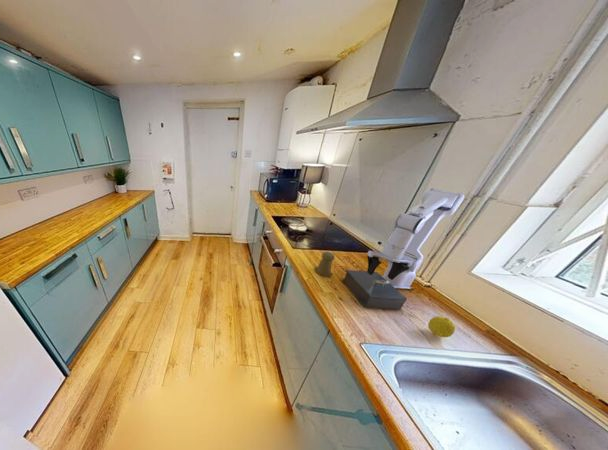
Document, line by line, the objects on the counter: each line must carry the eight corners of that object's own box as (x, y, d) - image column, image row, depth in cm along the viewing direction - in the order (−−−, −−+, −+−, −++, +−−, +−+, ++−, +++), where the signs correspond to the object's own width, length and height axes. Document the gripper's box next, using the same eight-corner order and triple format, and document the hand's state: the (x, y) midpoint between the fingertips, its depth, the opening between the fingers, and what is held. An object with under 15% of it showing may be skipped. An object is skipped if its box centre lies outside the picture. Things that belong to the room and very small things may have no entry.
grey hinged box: (343, 281, 92) (346, 272, 89) (372, 283, 91) (377, 274, 89) (365, 307, 78) (370, 297, 75) (400, 310, 77) (406, 299, 75)
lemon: (450, 345, 64) (463, 328, 61) (426, 337, 67) (438, 320, 63) (443, 332, 68) (455, 316, 65) (421, 325, 71) (432, 308, 68)
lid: (345, 271, 90) (348, 263, 88) (375, 272, 90) (379, 265, 88) (370, 297, 75) (374, 289, 74) (406, 299, 75) (411, 291, 73)
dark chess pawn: (331, 276, 94) (338, 257, 90) (318, 275, 95) (324, 255, 91) (327, 269, 100) (333, 250, 95) (314, 267, 101) (320, 249, 96)
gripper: (382, 245, 71) (365, 276, 76) (426, 255, 69) (406, 286, 74) (370, 238, 78) (356, 267, 82) (411, 246, 76) (394, 276, 80)
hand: (379, 275), depth 78 cm, fingers open, 7 cm apart
